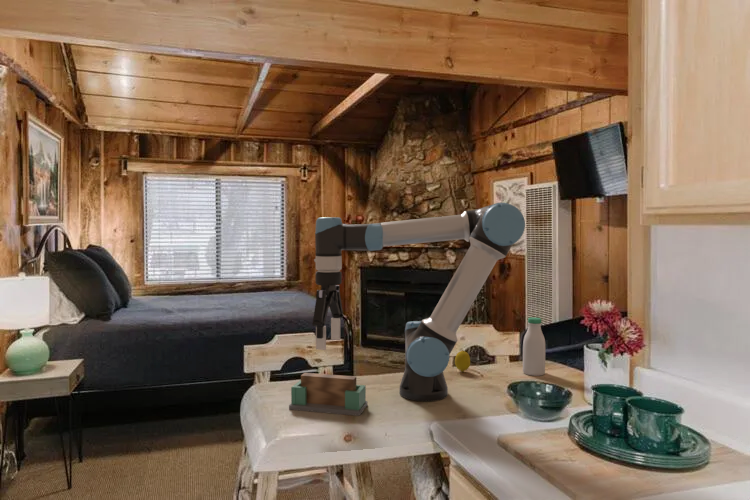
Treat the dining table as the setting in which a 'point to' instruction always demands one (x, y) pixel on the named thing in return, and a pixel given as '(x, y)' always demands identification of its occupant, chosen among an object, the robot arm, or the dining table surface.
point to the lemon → (462, 361)
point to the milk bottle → (534, 349)
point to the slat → (327, 388)
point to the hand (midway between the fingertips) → (328, 344)
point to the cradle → (353, 405)
